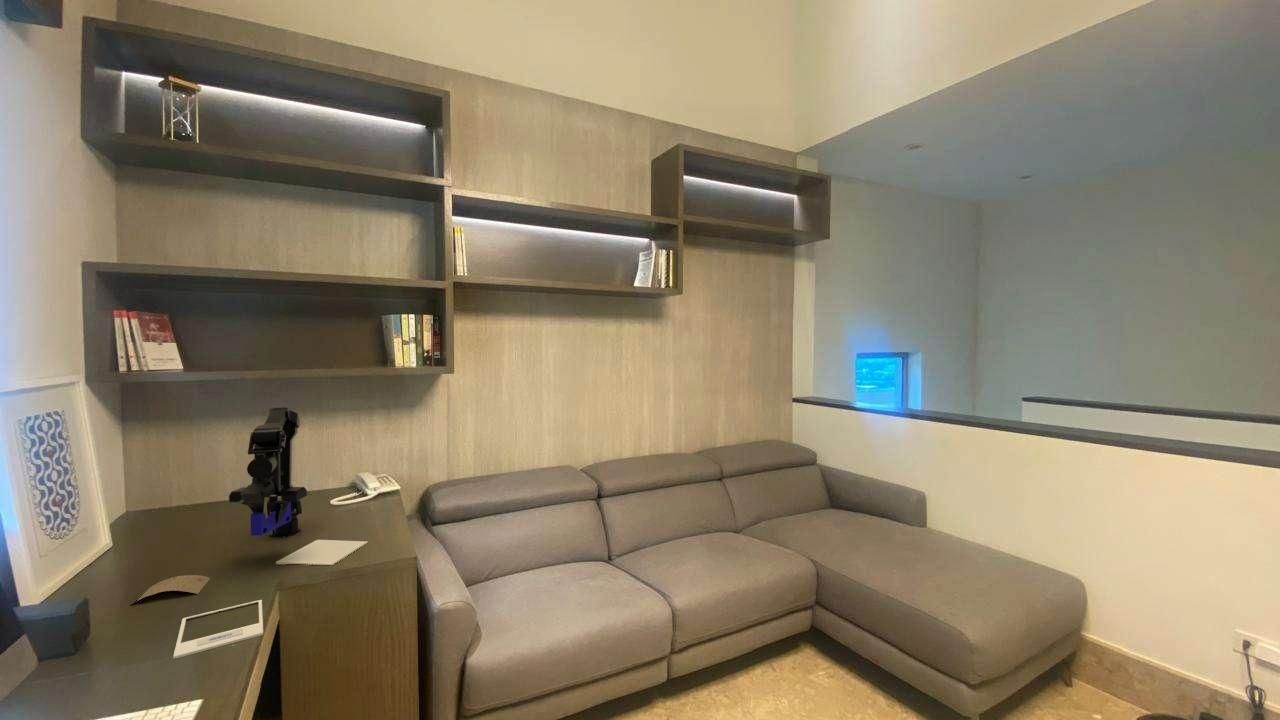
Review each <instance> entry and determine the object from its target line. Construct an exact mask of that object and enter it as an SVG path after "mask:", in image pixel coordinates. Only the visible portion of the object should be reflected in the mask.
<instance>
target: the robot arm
mask: <svg viewBox="0 0 1280 720" xmlns="http://www.w3.org/2000/svg"><path fill="white" fill-rule="evenodd" d="M300 419H301V418H300V416H299V413H297V412H295V411H293V410H291V409H290V407H287V406H282V407H280V406H279V407H275V406H274V407H272V408H270V409H269V413H268V414H267V417H266V420H265V421H264V423H263V424H261V425H256V427H255V428H254V429H253V431H252V432H251V433H250V437H249V442H248V443H249V444H248V450H247V455H254V458H253V459H252V460H251V461H250V462H249V463H248V464H247V467H246V470H247V474H248V475H249V476H250V477H251V478H252V479H251V483H250V484H248V486H244V487H240V488H237V489H234V490H232V491H231V492H230V493H229V495H228V502H229V503H239V502H241V501H242V502H241V505H242V506H243V505H244V506H246V507H248V508H249V509H250V510H251V512H252V514H253V513H265V512H264V509H265V498H269V499H268V500H267V502H266V512H267V513H266V514H267V517H268V516H269V515H270V513H273V512H275V520H276V524H278V523H279V522H280V521H281V518H282V516H283V514H284V512H285V510H286V508H287V506H288V505H289V503H290V501H291V521H290V522H288V523H286V524H284V525H282V526H280V527H278V528H276V529H274V530H272V533H269V534H268V537H278V538H279V537H280V538H281V537H282V538H284V537H285V538H286V537H289V536H291V535H293V534H296V533H298V532H299V531H301V528H299V519H298V517H297V516H299V515H301V514H302V513H303V505H302V500H301V499H303V498H305V497H307V495H308V489H307V488H306V487H305V486H293V484H292V471H293V470H292V468H293V467H292V460H293V459H292V457H293V455H292V454H293V441H294V440H293V439H295V437H296V436H297V434H298V433H299V432H298V430H299V428H300V426H301V420H300Z"/></svg>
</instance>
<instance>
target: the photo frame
mask: <svg viewBox="0 0 1280 720" xmlns="http://www.w3.org/2000/svg"><path fill="white" fill-rule="evenodd" d="M257 603H258V623H253V624H250V625H249V624H248V625H246V626H242V627H238V628H234V629H231V630H227V631H222V632H218V633H215V634H214V633H213V634H211V635H207V636H203V637H199V638H196V639H195V638H194V639H191V640H186V641H183V642H182V640H183V636H184V631H185V628H186V623H187V620H189V619H195V618H199V617H203V616H206V615H211V614H215V613H219V611H220V612H224V611H228V610H232V609H236V608H237V609H238V608H241V607H245V606H249V605H252V604H253V605H254V604H257ZM263 617H264V616H263V600H262V599H259V600H254V601H250V602H246V603H241V604H238V605H232V606H229V607H225V608H221V609H217V610H213V611H211V610H210V611H207V612H203V613H200V614H195V615H190V616H187V617H183V618H182V619H181V622H180V623H181V624H180V627H179V631H178V636H177V640H176V644H175V648H174V653H173V657H172V659H173V660H174V659H175V658H176V659H178V658H179V659H180V658H183V657H186V656H190V655H193V654H197V653H198V654H199V653H201V652H204V651H208V650H212V649H216V648H220V647H223V646H226V645H229V644H235V643H238V642H241V641H245V640H250V639H253V638H256V637H259V636H263V635H264V622H263V621H264V620H263Z"/></svg>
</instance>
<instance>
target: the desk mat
mask: <svg viewBox="0 0 1280 720" xmlns="http://www.w3.org/2000/svg"><path fill="white" fill-rule="evenodd" d="M367 543H368V544H369V541H366V540H365V541H358V540H338V539H337V540H335V539H332V540H331V539H316V540H314V541H312V542H310V543H308V544H307V545H304V546H303V547H301V548H299V549H298V550H296V551H294V552H292V553H290V554H288V555H286V556H284V557H282V558H281V559H279V560H277V561H275V565H285V564H306V565H305V566H309V565H312V564H313V565H334V564H335V563H337V562H338V563H339V561H340V560H341V561H342V559H343V560H345V559H346V558H347V556H348V555H349V554H351V553H352V554H354V553H355V552H357V551H358V550H357V549H359V548H360V547H362V546H363V547H364V545H365V544H366V545H368V544H367ZM366 545H365V546H366ZM363 547H362V548H363ZM360 549H361V548H360ZM360 549H359V550H360ZM356 550H357V551H356ZM354 551H355V552H354ZM353 552H354V553H353ZM352 554H351V555H352ZM349 556H350V555H349ZM349 556H348V557H349ZM345 557H346V558H345ZM341 561H340V562H341ZM338 563H337V564H338ZM307 564H308V565H307ZM335 565H336V564H335ZM335 565H334V566H335Z"/></svg>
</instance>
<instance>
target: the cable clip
mask: <svg viewBox="0 0 1280 720" xmlns="http://www.w3.org/2000/svg"><path fill="white" fill-rule="evenodd" d="M290 521H291V501H290V503H289V505H288V506H287V508H286V510H285V512H284V514H283V516H282V518H281V521H280V522H279V523H278V524H276V520H275V512H273V513H270V515H269V516H268V515H267V517H266V512H264V513H253V512H252V513H250V536H255V537H256V536H259V537H261V536H263V535H265V534H268V533H270V532H271V531H272V530H274V529H276V528H278V527H280V526H282V525H284V524H286V523H288V522H290Z"/></svg>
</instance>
